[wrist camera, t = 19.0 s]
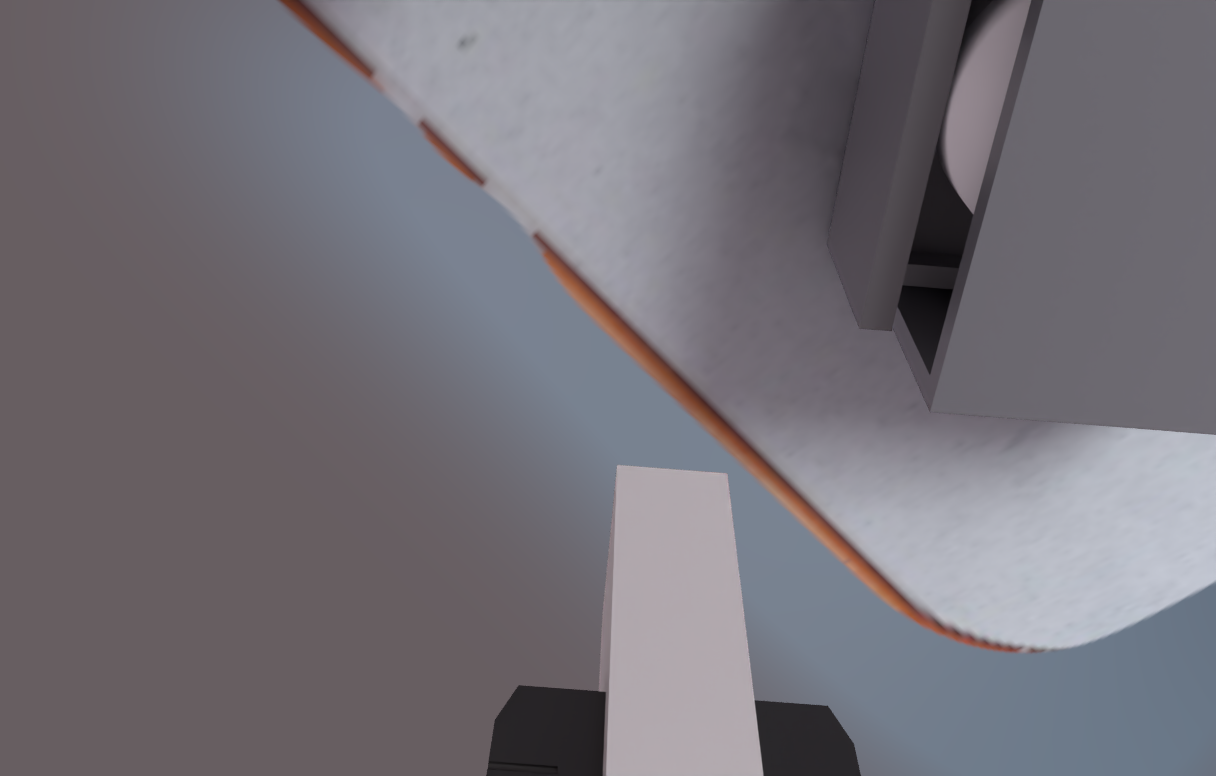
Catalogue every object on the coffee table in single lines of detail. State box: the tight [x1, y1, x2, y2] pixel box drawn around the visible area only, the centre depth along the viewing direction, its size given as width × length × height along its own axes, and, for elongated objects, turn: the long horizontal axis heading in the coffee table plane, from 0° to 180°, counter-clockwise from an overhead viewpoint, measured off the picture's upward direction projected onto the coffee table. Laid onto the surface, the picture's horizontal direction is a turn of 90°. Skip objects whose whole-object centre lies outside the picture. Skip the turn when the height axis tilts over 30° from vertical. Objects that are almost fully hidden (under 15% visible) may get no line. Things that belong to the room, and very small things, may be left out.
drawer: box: [827, 0, 993, 331], centre depth 32 cm, size 15×14×7 cm
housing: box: [893, 0, 1216, 435], centre depth 31 cm, size 17×14×9 cm
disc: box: [936, 0, 1031, 215], centre depth 29 cm, size 8×8×2 cm
